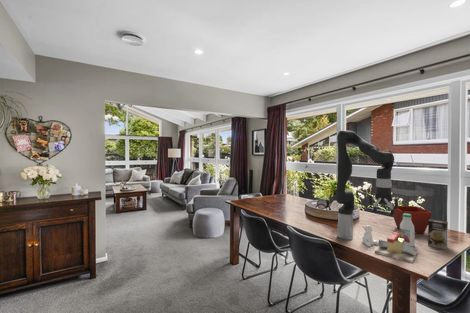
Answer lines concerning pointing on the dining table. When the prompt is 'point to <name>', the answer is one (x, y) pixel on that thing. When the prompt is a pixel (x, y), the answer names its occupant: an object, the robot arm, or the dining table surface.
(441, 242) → the coffee box
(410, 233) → the milk bottle
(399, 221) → the plant pot
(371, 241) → the sitting furry creature
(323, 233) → the dining table surface
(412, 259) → the mounting board
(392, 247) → the valve body
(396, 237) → the valve lever
